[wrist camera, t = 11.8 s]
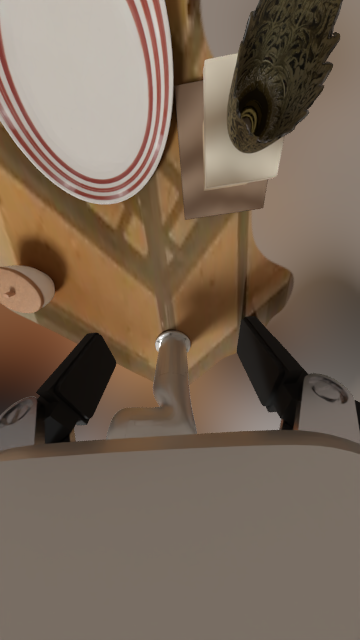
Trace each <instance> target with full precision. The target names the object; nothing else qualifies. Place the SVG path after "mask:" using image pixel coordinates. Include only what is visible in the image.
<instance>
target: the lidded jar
mask: <svg viewBox="0 0 360 640" xmlns="http://www.w3.org/2000/svg"><path fill="white" fill-rule="evenodd" d="M54 294H55V287H54V283H53V281H52V279H51V278H50V277H49V276H48V275H46V274H45V273H43V272H41V271H39V270H37V269H35V268H32V267H28V266H21V265H13V266H5V267H0V303H1V304H3V305H5V306H6V307H8V308H10V309H12V310H15V311H18V312H22V313H33V312H36V311H38V310H39V309H41V308H42V307H44V306H45V305H47V304H48V303H49V302H50V301H51V300H52V299H53V297H54Z"/></svg>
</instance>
